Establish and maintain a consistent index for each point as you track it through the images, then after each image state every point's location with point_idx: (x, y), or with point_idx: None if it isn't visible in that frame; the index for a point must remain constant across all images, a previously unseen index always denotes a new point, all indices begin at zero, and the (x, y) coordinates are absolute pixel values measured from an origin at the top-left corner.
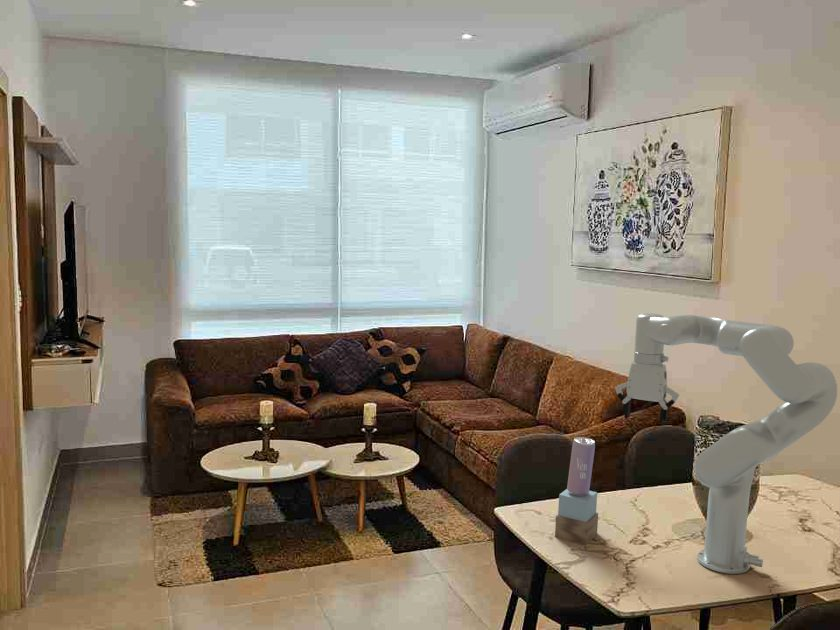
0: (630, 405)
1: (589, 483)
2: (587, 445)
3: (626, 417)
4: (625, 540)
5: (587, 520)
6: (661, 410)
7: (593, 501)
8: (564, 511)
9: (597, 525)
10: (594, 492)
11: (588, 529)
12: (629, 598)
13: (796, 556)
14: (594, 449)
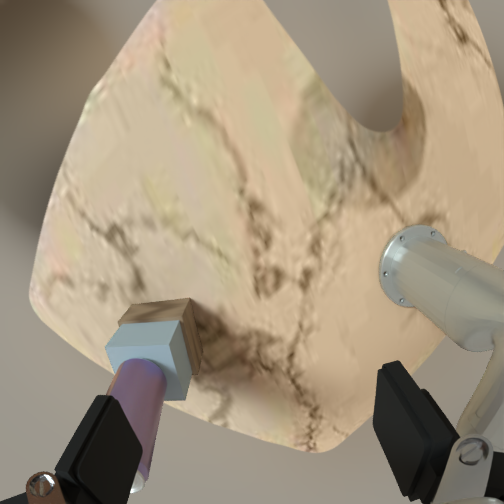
0: (86, 460)
1: (162, 394)
2: (139, 487)
3: (137, 451)
4: (247, 292)
5: (190, 366)
6: (409, 494)
7: (177, 357)
8: None
9: (187, 304)
10: (164, 348)
11: (198, 361)
12: (325, 436)
13: (483, 157)
14: (146, 459)
